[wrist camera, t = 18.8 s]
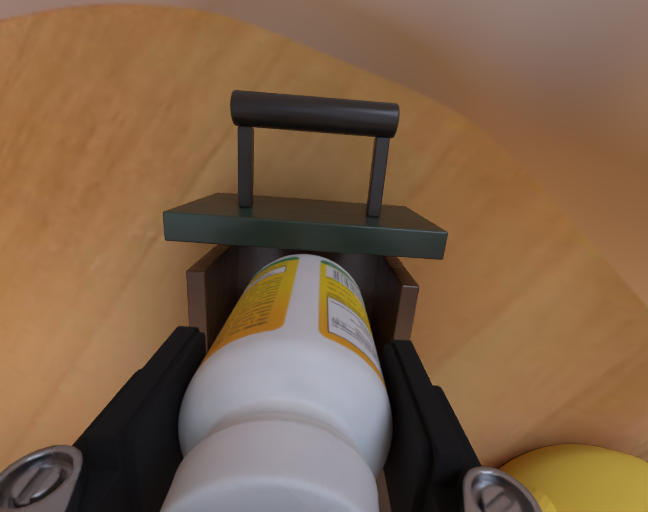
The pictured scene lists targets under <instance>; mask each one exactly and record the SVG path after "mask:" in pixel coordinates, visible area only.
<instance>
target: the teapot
mask: <svg viewBox="0 0 648 512" xmlns="http://www.w3.org/2000/svg"><path fill="white" fill-rule="evenodd" d="M498 470H501V471H503V472H505V473H507V474H509V475H510V476H512V477H513V478H515V479H516V480H518V481H519V482H520V483H521V484H522V485H523V486H525V487H526V488H527V489H528V490H529V491H530V493H531V494H532V495H533V497H534V498H535V499H536V500H537V502H538V504H539V506H540V508H541V510H542V512H648V462H647V461H644V460H642V459H640V458H638V457H635V456H632V455H629V454H625V453H622V452H619V451H615V450H611V449H607V448H602V447H596V446H591V445H585V444H560V445H552V446H547V447H543V448H539V449H536V450H533V451H530V452H527V453H525V454H523V455H521V456H518V457H516V458H515V459H513V460H511V461H509V462H508V463H506V464H505V465H503V466H502V467H500V468H499V469H498Z"/></svg>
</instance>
